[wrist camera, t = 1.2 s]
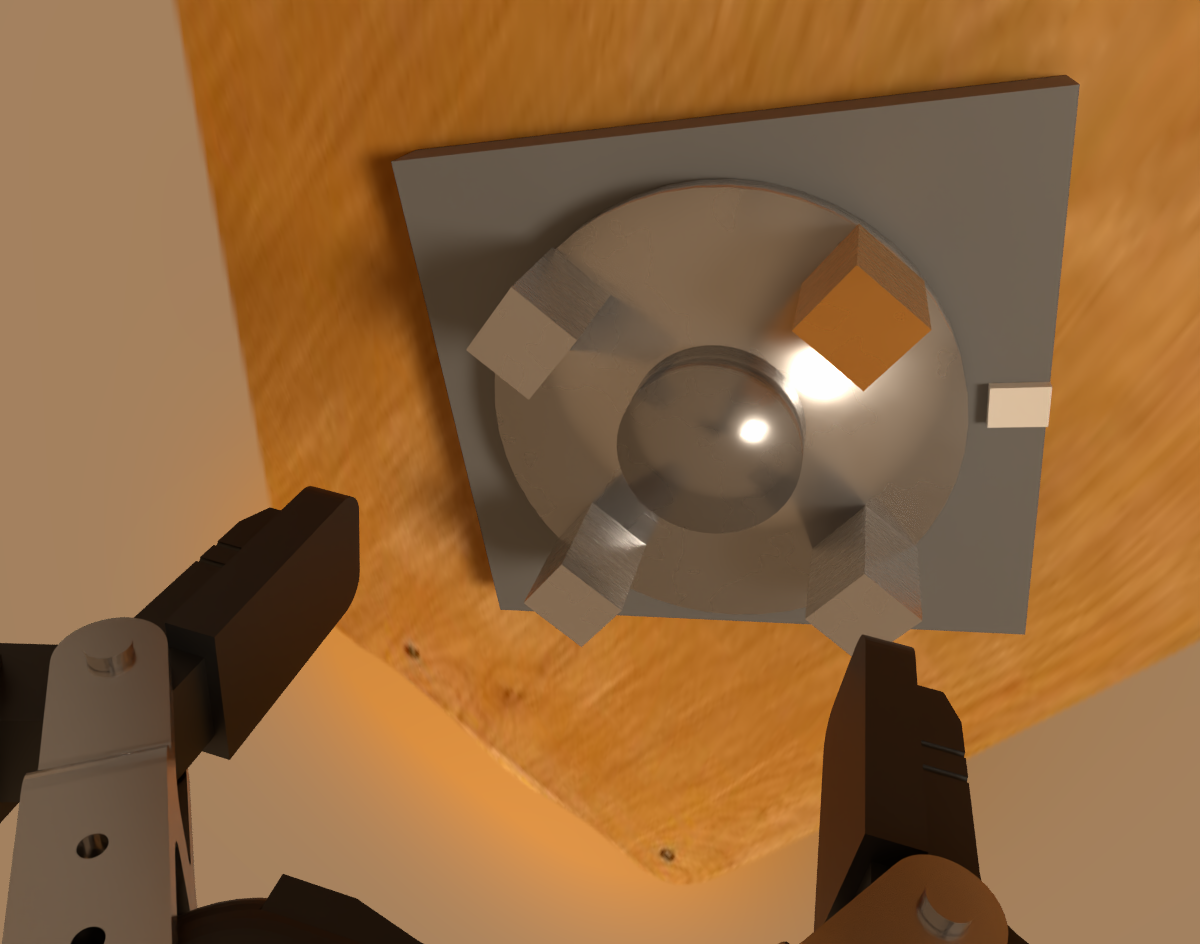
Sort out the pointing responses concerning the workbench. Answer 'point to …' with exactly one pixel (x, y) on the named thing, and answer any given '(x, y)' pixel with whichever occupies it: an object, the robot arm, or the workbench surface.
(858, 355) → the lugged metal dish
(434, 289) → the base plate
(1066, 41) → the workbench surface
